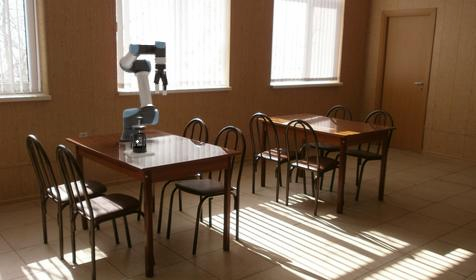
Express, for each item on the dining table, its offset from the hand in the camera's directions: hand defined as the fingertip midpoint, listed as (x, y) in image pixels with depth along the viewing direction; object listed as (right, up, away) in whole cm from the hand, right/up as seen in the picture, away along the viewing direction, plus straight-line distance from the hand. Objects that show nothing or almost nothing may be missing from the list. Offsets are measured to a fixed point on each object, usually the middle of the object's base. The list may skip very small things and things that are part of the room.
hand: (160, 94), depth 328 cm
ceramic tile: (-11, -41, -22) cm, 48 cm away
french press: (-11, -40, -22) cm, 47 cm away
